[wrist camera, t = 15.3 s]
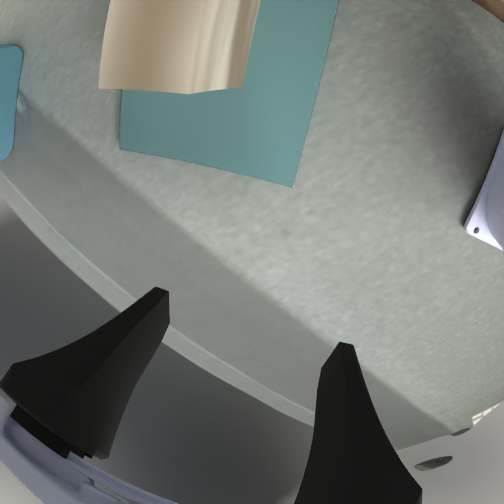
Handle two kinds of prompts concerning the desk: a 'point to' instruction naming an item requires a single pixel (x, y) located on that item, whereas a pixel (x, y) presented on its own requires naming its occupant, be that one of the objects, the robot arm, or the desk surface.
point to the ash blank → (177, 45)
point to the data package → (8, 95)
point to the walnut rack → (493, 7)
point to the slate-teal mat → (243, 101)
